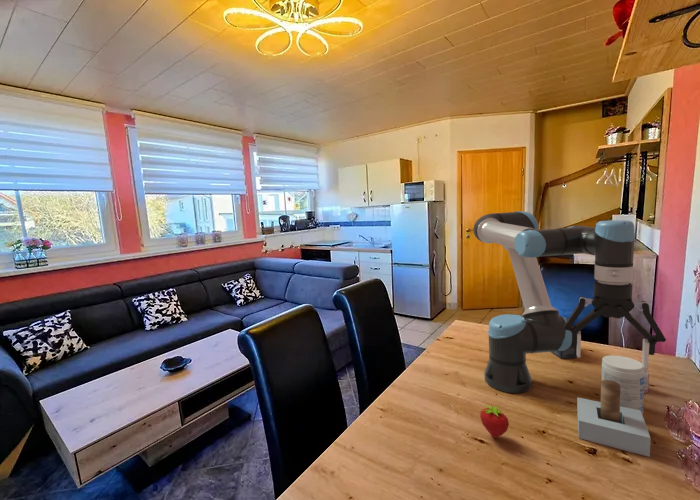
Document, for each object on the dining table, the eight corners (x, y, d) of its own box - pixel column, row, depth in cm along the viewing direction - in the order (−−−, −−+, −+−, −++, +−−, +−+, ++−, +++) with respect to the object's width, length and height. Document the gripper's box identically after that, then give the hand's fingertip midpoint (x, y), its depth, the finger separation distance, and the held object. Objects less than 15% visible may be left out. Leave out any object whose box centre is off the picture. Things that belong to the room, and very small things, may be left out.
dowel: (600, 435, 86) (601, 385, 84) (599, 426, 89) (600, 378, 88) (620, 440, 84) (621, 389, 82) (618, 430, 87) (619, 381, 85)
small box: (578, 358, 128) (578, 329, 126) (560, 359, 128) (560, 330, 126) (557, 344, 141) (557, 318, 139) (541, 345, 141) (541, 319, 140)
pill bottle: (652, 393, 102) (653, 368, 101) (634, 392, 103) (635, 367, 102) (642, 385, 107) (642, 361, 106) (625, 384, 108) (626, 360, 107)
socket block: (578, 438, 85) (578, 420, 85) (577, 413, 95) (577, 397, 95) (649, 457, 78) (650, 437, 77) (640, 427, 87) (640, 410, 87)
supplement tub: (650, 421, 90) (652, 371, 88) (609, 417, 93) (610, 368, 91) (632, 401, 99) (633, 355, 97) (595, 398, 102) (596, 353, 100)
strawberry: (501, 450, 83) (500, 414, 82) (475, 435, 89) (474, 401, 88) (514, 440, 86) (513, 405, 85) (488, 426, 92) (487, 393, 91)
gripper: (554, 281, 86) (553, 357, 88) (686, 288, 72) (681, 378, 74) (555, 275, 92) (554, 346, 94) (677, 281, 78) (672, 363, 81)
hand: (610, 360), depth 84 cm, fingers open, 13 cm apart
